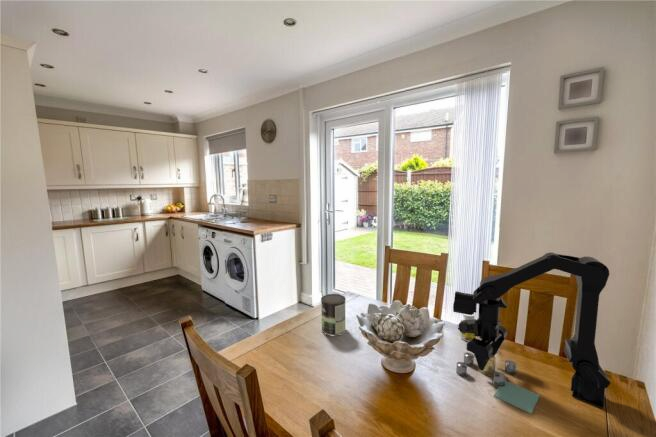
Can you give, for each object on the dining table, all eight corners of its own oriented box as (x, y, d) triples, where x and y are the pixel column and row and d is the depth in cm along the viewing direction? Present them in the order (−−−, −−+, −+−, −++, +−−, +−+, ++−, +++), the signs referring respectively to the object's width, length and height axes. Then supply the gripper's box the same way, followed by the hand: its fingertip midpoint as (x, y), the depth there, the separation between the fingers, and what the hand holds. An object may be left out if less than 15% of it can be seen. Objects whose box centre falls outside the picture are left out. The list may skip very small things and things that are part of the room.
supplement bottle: (465, 343, 109) (466, 317, 108) (457, 335, 114) (457, 311, 113) (478, 341, 110) (479, 316, 108) (469, 334, 115) (470, 310, 114)
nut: (497, 371, 92) (498, 355, 92) (491, 378, 89) (492, 362, 88) (480, 364, 96) (481, 349, 95) (475, 370, 93) (475, 355, 92)
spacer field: (518, 369, 93) (518, 361, 92) (501, 395, 82) (502, 385, 81) (473, 352, 103) (473, 344, 103) (453, 372, 92) (453, 363, 92)
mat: (539, 396, 81) (539, 395, 81) (531, 414, 75) (531, 412, 75) (503, 381, 87) (503, 379, 87) (493, 396, 81) (493, 394, 81)
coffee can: (322, 337, 115) (322, 304, 113) (320, 325, 125) (320, 294, 124) (347, 335, 116) (347, 302, 115) (343, 323, 126) (343, 293, 125)
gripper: (473, 302, 103) (471, 342, 104) (450, 318, 90) (449, 365, 92) (508, 311, 94) (506, 355, 96) (488, 331, 82) (486, 381, 84)
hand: (486, 363), depth 92 cm, fingers open, 9 cm apart
